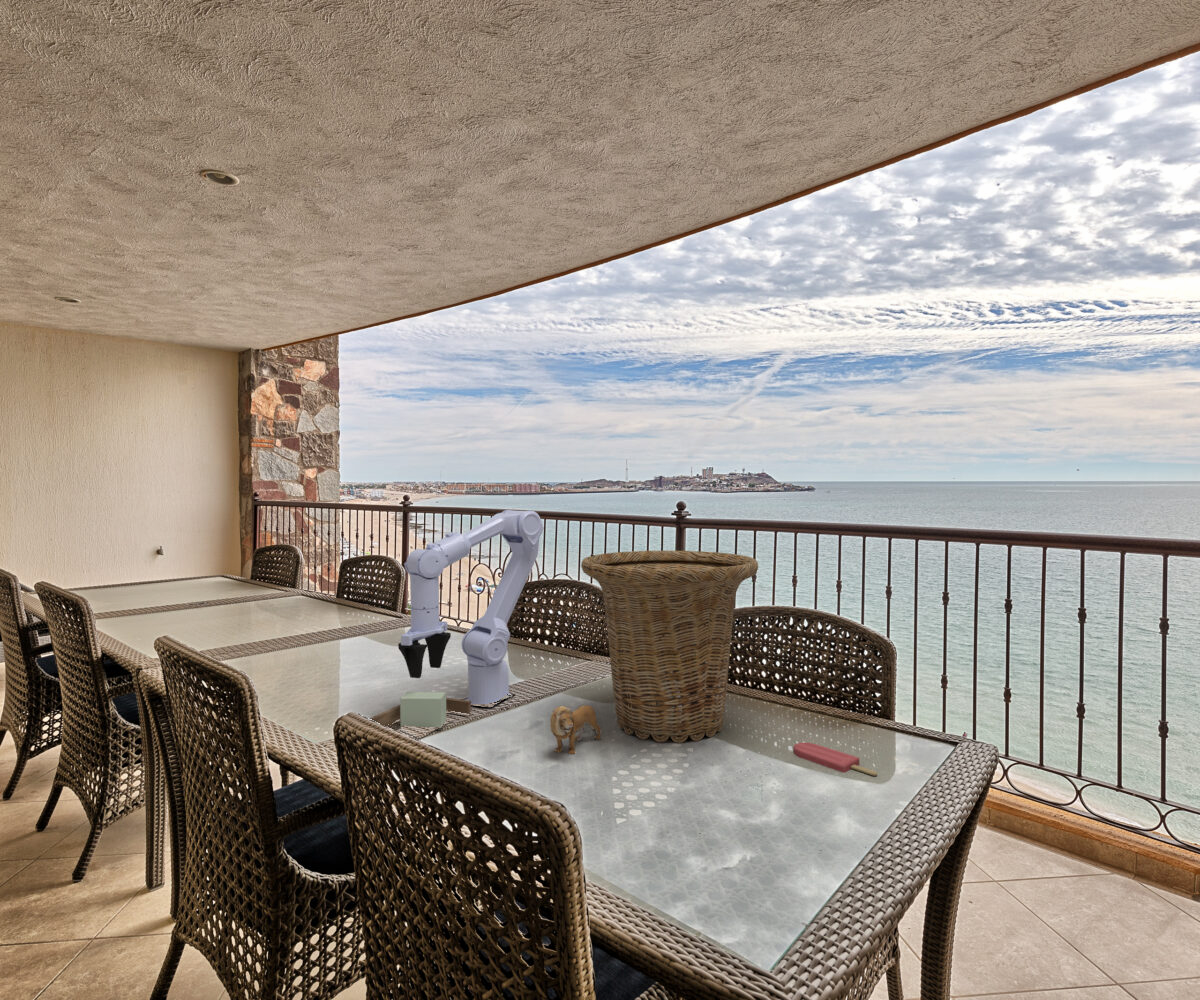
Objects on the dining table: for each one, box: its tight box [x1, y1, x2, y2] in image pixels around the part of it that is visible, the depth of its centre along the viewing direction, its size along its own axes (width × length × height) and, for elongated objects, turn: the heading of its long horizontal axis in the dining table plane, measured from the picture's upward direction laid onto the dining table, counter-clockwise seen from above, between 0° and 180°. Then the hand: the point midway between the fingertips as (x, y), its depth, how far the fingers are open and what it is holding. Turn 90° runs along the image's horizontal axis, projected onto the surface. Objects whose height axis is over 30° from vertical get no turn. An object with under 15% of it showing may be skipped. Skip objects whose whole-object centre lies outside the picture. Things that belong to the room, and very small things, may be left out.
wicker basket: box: [580, 550, 759, 744], centre depth 133 cm, size 35×35×33 cm
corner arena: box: [369, 697, 472, 740], centre depth 134 cm, size 16×12×3 cm
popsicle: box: [793, 742, 878, 777], centre depth 114 cm, size 5×2×15 cm
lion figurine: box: [549, 704, 602, 755], centre depth 122 cm, size 15×5×9 cm, turn 153°
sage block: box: [399, 691, 447, 728], centre depth 132 cm, size 4×8×6 cm, turn 88°
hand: (425, 672), depth 138 cm, fingers open, 7 cm apart
